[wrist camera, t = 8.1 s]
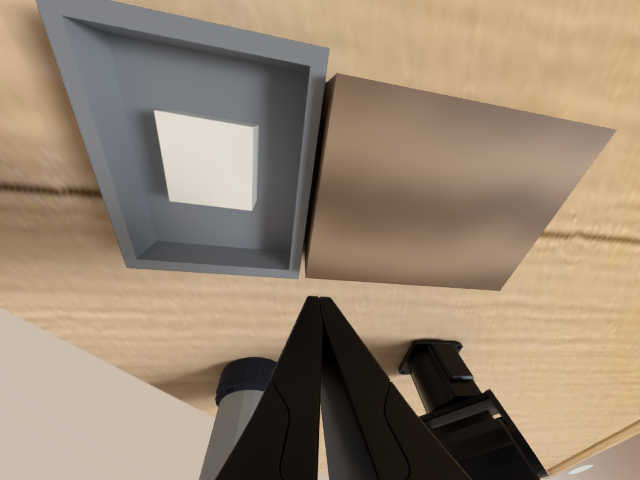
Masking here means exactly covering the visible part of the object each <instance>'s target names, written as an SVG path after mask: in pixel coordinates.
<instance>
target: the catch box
mask: <svg viewBox="0 0 640 480" xmlns="http://www.w3.org/2000/svg"><path fill="white" fill-rule="evenodd" d="M36 3H37V6H38V9H39V12H40V15H41V18H42V21H43V24H44V27H45V30H46V33H47V36H48V38H49V41H50V44H51V47H52V50H53V53H54V56H55V59H56V62H57V65H58V68H59V71H60V74H61V77H62V80H63V83H64V85H65V88H66V91H67V94H68V97H69V100H70V103H71V106H72V109H73V112H74V115H75V118H76V121H77V124H78V127H79V130H80V132H81V135H82V138H83V141H84V144H85V147H86V150H87V153H88V156H89V159H90V162H91V165H92V168H93V171H94V174H95V177H96V180H97V182H98V185H99V188H100V191H101V194H102V197H103V200H104V203H105V206H106V209H107V212H108V215H109V218H110V221H111V224H112V227H113V229H114V232H115V235H116V238H117V241H118V244H119V247H120V250H121V253H122V256H123V259H124V262H125V265H126V268H136V269H151V270H166V271H182V272H197V273H212V274H227V275H242V276H258V277H273V278H288V279H299V272H300V264H301V257H302V250H303V242H304V235H305V227H306V220H307V212H308V205H309V197H310V190H311V183H312V175H313V168H314V160H315V153H316V145H317V138H318V130H319V123H320V115H321V108H322V101H323V93H324V86H325V78H326V71H327V63H328V56H329V48H326V47H321V46H317V45H312V44H307V43H303V42H298V41H294V40H289V39H284V38H280V37H275V36H271V35H266V34H261V33H257V32H252V31H248V30H243V29H238V28H234V27H229V26H225V25H220V24H216V23H211V22H206V21H202V20H197V19H193V18H188V17H183V16H179V15H174V14H170V13H165V12H160V11H156V10H151V9H147V8H142V7H137V6H133V5H128V4H124V3H119V2H115V1H110V0H36ZM154 110H176V111H182V112H188V113H194V114H199V115H205V116H211V117H217V118H222V119H228V120H234V121H240V122H245V123H251V124H257V125H259V139H258V175H257V201H256V203H255V205H254V207H253V210H252V211H249V210H240V209H232V208H223V207H215V206H206V205H198V204H189V203H181V202H172V201H170V200H169V195H168V189H167V183H166V177H165V172H164V166H163V160H162V154H161V149H160V143H159V137H158V131H157V125H156V120H155V114H154Z"/></svg>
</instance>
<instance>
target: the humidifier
mask: <svg viewBox="0 0 640 480" xmlns="http://www.w3.org/2000/svg"><path fill="white" fill-rule="evenodd" d="M276 364H277V362H275V361H273V360H270V359H265V358H260V357H249V358H243V359H238V360H236V361H234V362H231V363H230V364H228V365H227V366H226V367H225V368H224V370H223V372H222V374H221V378H220V381H219V384H218V388H217V391H216V394H217V395H216V398H215V400H216V405H217V406H218V407H219V408H218V411H217V415H216V419H215V422H214V426H213V430H212V434H211V437H210V441H209V445H208V448H207V452H206V456H205V459H204V464H203V467H202V471H201V475H200V478H199V480H215V478H216V477H217V475H218V473H219V472H220V470H221V468H222V467H223V465H224V463H225V462H226V460H227V458H228V457H229V455H230V453H231V452H232V450H233V448H234V447H235V445H236V443H237V441H238V440H239V438H240V436H241V434H242V433H243V431H244V429H245V427H246V426H247V424H248V422H249V420H250V418H251V417H252V415H253V413H254V411H255V409H256V407H257V405H258V403H259V401H260V399H261V397H262V395H263V392H264V390H265V388H266V386H267V384H268V381H270V377H271V375H272V373H273V371H274V369H275V366H276Z"/></svg>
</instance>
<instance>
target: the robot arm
mask: <svg viewBox="0 0 640 480" xmlns="http://www.w3.org/2000/svg"><path fill="white" fill-rule="evenodd" d="M462 347H463V346H462V344H461V343H460V342H439V341H415V342H414V343H413V344H412V346H411V348H410V349H409V351H408V353H407V355H406V356H405V358H404V360H403V362H402V364H401V365H400V367H399V369H398V371H399V374H411V377H412V379H413V382H414V384H415V386H416V389H417V391H418V394H419V396H420V398H421V401H422V403H423V406H424V408H425V410H426V413H427V414H425V415H422V416H419V417H418V416H417V415H416V413H415V412H414V411H413V409H412V408H411V407H410V406H409V404H408V403H407V402H406V400H405V399H404V398H403V396H402V395H401V394H400V392H399V391H398V390H397V388H396V387H395V385H394V384H393V383H392V382H390V379H389V377H388V376H387V374H386V373H385V372H384V370H383V369H382V368H381V366H380V365H379V363H378V362H377V361H376V359H375V358H374V357H373V355H372V354H371V352H370V351H369V350H368V348H367V347H366V346H365V344H364V343H363V341H362V340H361V339H360V337H359V336H358V335H357V333H356V332H355V330H354V329H353V328H352V326H351V325H350V323H349V322H348V321H347V319H346V318H345V317H344V315H343V314H342V312H341V311H340V310H339V308H338V307H337V306H336V304H335V303H334V301H333V300H332V299H331V298H330V297H318V296H308V297H307V298H306V301H305V303H304V305H303V307H302V309H301V312H300V314H299V316H298V318H297V320H296V323H295V325H294V327H293V329H292V331H291V334H290V336H289V338H288V340H287V342H286V344H285V347H284V349H283V351H282V353H281V355H280V358H279V360H278V362H277V364H276V366H275V369H274V371H273V373H272V375H271V377H270V381H268V384H267V386H266V388H265V390H264V392H263V395H262V397H261V399H260V401H259V403H258V405H257V407H256V409H255V411H254V413H253V415H252V417H251V418H250V420H249V422H248V424H247V426H246V427H245V429H244V431H243V433H242V434H241V436H240V438H239V440H238V441H237V443H236V445H235V447H234V448H233V450H232V452H231V453H230V455H229V457H228V458H227V460H226V462H225V463H224V465H223V467H222V468H221V470H220V472H219V473H218V475H217V477H216V478H215V480H317V478H318V451H319V425H320V404H321V412H322V421H323V430H324V438H325V447H326V456H327V464H328V473H329V480H540V479H539V478H542V477H546V476H549V475H548V474H547V472H546V470H545V469H544V467H543V466H542V464H541V463H540V461H539V460H538V458H537V457H536V455H535V454H534V452H533V451H532V449H531V448H530V446H529V445H528V443H527V442H526V440H525V439H524V437H523V436H522V434H521V433H520V432H519V430H518V429H517V427H516V426H515V424H514V423H513V421H512V420H511V419H510V417H509V416H508V414H507V413H506V411H505V410H504V408H503V407H502V406H501V404H500V403H499V401H498V400H497V398H496V397H495V395H494V394H493V393H492V391H491V390H490V389H489V390H486V391H485V392H484V393H481V391H480V390H479V388H478V387H477V385H476V383H475V382H474V380H473V378H474V377H473V375H472V374H471V372H470V371H469V369H468V368H467V366H466V365H465V363H464V361H463V360H462V358H461V357H460V355H459V354H458V353H459V351H460V350H461V349H462ZM496 414H500V416H501V417H499V418H496V419H494V418H493V415H496Z"/></svg>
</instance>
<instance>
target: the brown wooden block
mask: <svg viewBox="0 0 640 480" xmlns="http://www.w3.org/2000/svg"><path fill="white" fill-rule="evenodd" d="M615 132H616V130H615V129H610V128H605V127H600V126H595V125H590V124H585V123H580V122H575V121H570V120H565V119H560V118H555V117H550V116H546V115H541V114H536V113H531V112H526V111H521V110H516V109H511V108H506V107H501V106H496V105H491V104H486V103H481V102H476V101H471V100H466V99H462V98H457V97H452V96H447V95H442V94H437V93H432V92H427V91H422V90H417V89H412V88H407V87H402V86H397V85H392V84H387V83H383V82H378V81H373V80H368V79H363V78H358V77H353V76H348V75H343V74H338V73H337V74H336V75H334V76H333V77H332V78H331V79H330V80H329V81H328V82H327V89H326V96H325V103H324V110H323V118H322V125H321V132H320V139H319V146H318V154H317V161H316V168H315V175H314V183H313V190H312V197H311V204H310V211H309V219H308V226H307V233H306V240H305V247H304V250H305V278H314V279H329V280H344V281H359V282H374V283H389V284H404V285H419V286H434V287H449V288H464V289H479V290H494V291H500V290H501V289H502V287H503V286H504V285H505V283H506V282H507V280H508V279H509V278H510V276H511V275H512V274H513V272H514V271H515V269H516V268H517V267H518V265H519V264H520V262H521V261H522V260H523V258H524V257H525V256H526V254H527V253H528V251H529V250H530V249H531V247H532V246H533V245H534V243H535V242H536V240H537V239H538V238H539V236H540V235H541V234H542V232H543V231H544V229H545V228H546V227H547V225H548V224H549V223H550V221H551V220H552V218H553V217H554V216H555V214H556V213H557V212H558V210H559V209H560V207H561V206H562V205H563V203H564V202H565V201H566V199H567V198H568V196H569V195H570V194H571V192H572V191H573V190H574V188H575V187H576V185H577V184H578V183H579V181H580V180H581V179H582V177H583V176H584V174H585V173H586V172H587V170H588V169H589V168H590V166H591V165H592V163H593V162H594V161H595V159H596V158H597V157H598V155H599V154H600V152H601V151H602V150H603V148H604V147H605V146H606V144H607V143H608V141H609V140H610V139H611V137H612V136H613V135H614V133H615Z"/></svg>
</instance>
